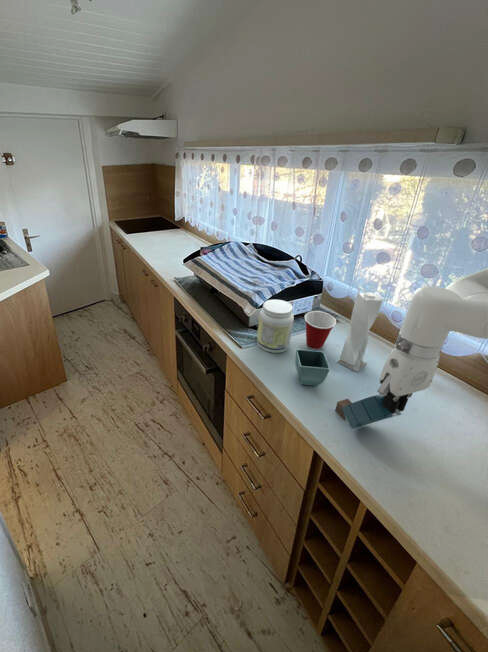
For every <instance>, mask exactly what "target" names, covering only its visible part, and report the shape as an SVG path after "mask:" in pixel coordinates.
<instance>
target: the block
mask: <svg viewBox="0 0 488 652" xmlns="http://www.w3.org/2000/svg"><path fill="white" fill-rule="evenodd" d="M351 403H353V402H352V400H350V399H349V398H345V399H342V400H338V401H337V402H336V406H335V409H334V411H335V413H336V414H338V416H340V418H341V419H342V420H343V421H346V419H345V417H344V415H343V413H342V411H341V408H342V407H344V406H346V405H349V404H351Z"/></svg>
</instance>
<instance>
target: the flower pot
mask: <svg viewBox="0 0 488 652" xmlns="http://www.w3.org/2000/svg"><path fill="white" fill-rule="evenodd" d="M294 361H295V369H296V374H297V378H298V382H299V383H300V385H303V386H304V385H305V386H313V387H314V386H315V387H316V386H319V385H322V383H324V382H325V380H326V378H327V377H328V375H329V372H330V370H331V367H330V364H329V361H328V358H327V356H326V353H325V351H322V350H310V349H300V348H299V349H298V348H297V349H295V360H294Z"/></svg>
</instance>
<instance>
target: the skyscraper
mask: <svg viewBox="0 0 488 652" xmlns="http://www.w3.org/2000/svg"><path fill="white" fill-rule="evenodd" d="M360 291H362V292H360ZM383 303H384V298H383V297H382V296H381V295H380V293H379V292H377V291H375V292H369V291H367V292H365V289H364V288H363V287H362V286H361V285H359V286H358V287H357V294H356V297H355V300H354V304H353V308H352V312H351V318H350V324H349V325H350V326H349V327H350V328H349V331H348V333H347V335H346V338H345V340H344V344H343V347H342V350H341V354H340V357H339V359H338V360H337V361H336V364H338V365H340V366H342V367H345V368H346V369H348V370H350V371H352V372H355V373H359V372H360V371H361V370H362V369H363V368H364V367H365V366H366V365H367V362H365V361H363V359H364V357H365V353H366V349H367V346H368V342H369V336H370V335H369V333H370V329H372V326H373V325H374V323H375V322H376V320H377V318H378V315H379V313H380V310H381V308H382V305H383Z"/></svg>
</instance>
